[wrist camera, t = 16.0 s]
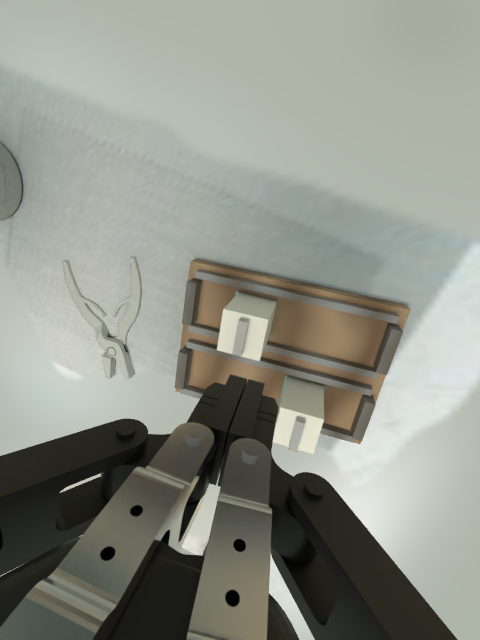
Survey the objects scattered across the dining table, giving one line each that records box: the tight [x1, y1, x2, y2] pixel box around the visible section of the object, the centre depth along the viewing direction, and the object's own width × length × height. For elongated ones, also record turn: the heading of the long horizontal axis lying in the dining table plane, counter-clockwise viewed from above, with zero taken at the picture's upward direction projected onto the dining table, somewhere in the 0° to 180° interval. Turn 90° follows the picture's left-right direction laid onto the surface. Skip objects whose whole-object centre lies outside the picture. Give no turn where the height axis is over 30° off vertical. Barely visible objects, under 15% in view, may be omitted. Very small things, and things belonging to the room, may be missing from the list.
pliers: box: [63, 257, 142, 380], centre depth 41 cm, size 10×2×15 cm
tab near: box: [217, 292, 277, 361], centre depth 31 cm, size 4×4×7 cm
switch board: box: [175, 259, 410, 444], centre depth 36 cm, size 22×16×3 cm
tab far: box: [273, 377, 324, 454], centre depth 33 cm, size 4×4×7 cm
